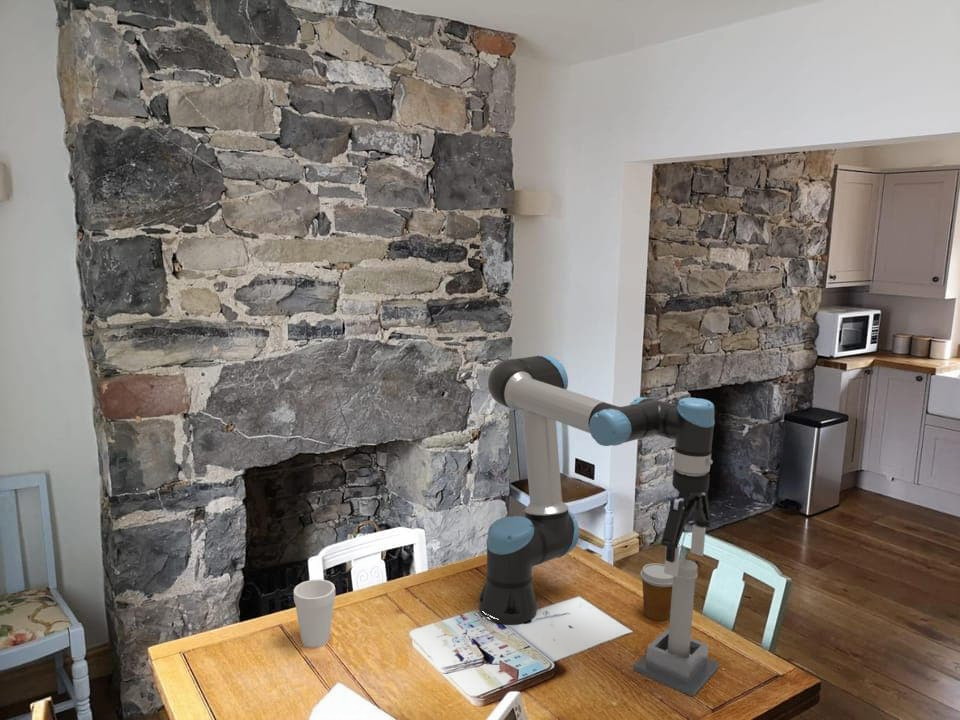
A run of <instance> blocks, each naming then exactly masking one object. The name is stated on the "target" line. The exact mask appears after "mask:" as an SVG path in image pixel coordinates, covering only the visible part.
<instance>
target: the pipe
mask: <svg viewBox="0 0 960 720" xmlns="http://www.w3.org/2000/svg"><path fill="white" fill-rule="evenodd" d="M678 546H679V547H680V549H681V551H682V554H683V558H679V563H678V576H677V577H674V576H673V585H672V599H671V610H670V615H669V626H668V629H669V639H668V649H667V650H666V651H667V652H669V653H672V654H674V655H677V656H679V657H682V658H684V659H686V660H687V659H688V658H689V657H690V656H691V654H690V653H689V652H690V639H691V638H692V636H691V635H692V626H693V625H692V624H693V613H694V612H693V611H694V599H695V588H696V587H695V586H696V579H698V576H699V574H698V570H699V569H698V564H697V563H696V562H695V561H694V560H691V559H686V555H685V551H684V549H683V547H682V546H681V545H680V543H679V544H678Z"/></svg>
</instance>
